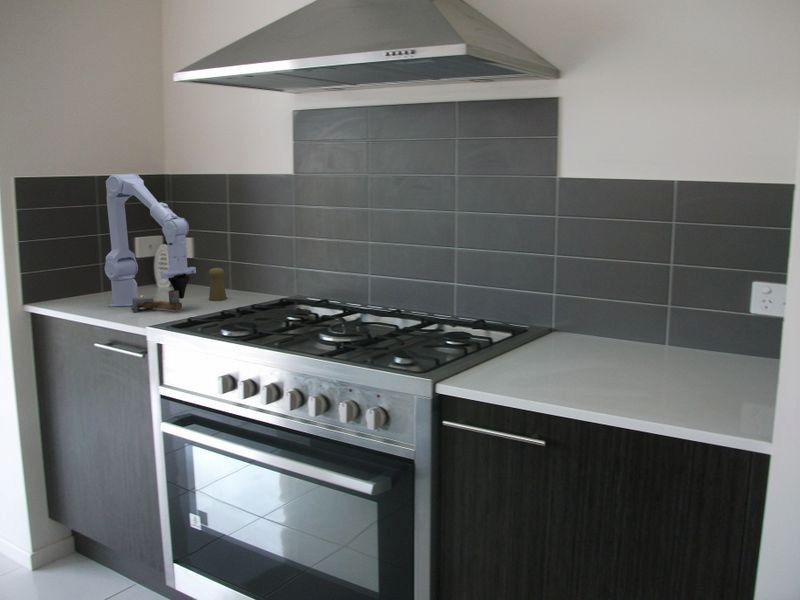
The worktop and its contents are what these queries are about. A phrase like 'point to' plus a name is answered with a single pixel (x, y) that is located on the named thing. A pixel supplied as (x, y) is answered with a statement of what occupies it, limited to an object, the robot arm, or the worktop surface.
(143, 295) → the pintle base
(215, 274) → the cork
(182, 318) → the worktop surface
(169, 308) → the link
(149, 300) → the keeper
